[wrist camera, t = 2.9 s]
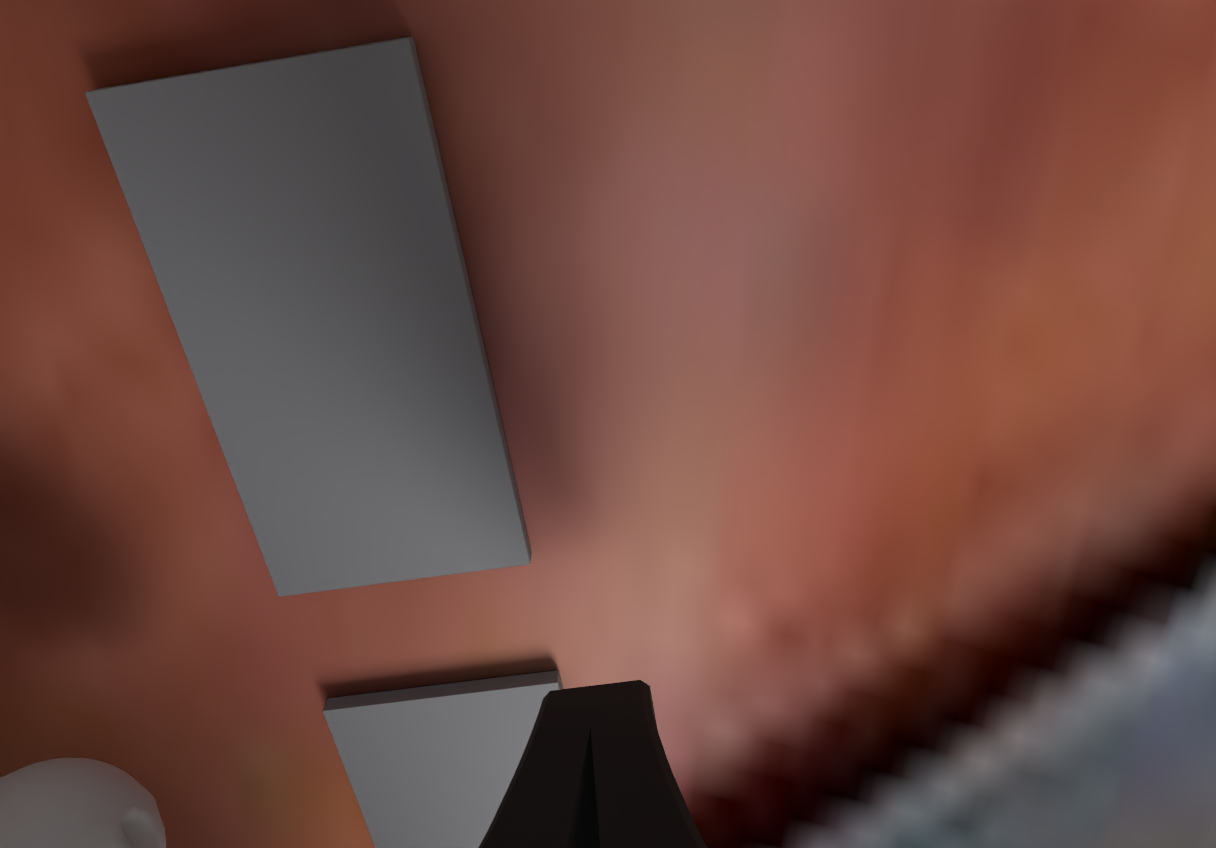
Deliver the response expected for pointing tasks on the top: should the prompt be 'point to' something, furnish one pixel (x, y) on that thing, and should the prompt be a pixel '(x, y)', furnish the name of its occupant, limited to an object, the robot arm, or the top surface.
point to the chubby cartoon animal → (77, 807)
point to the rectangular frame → (341, 377)
